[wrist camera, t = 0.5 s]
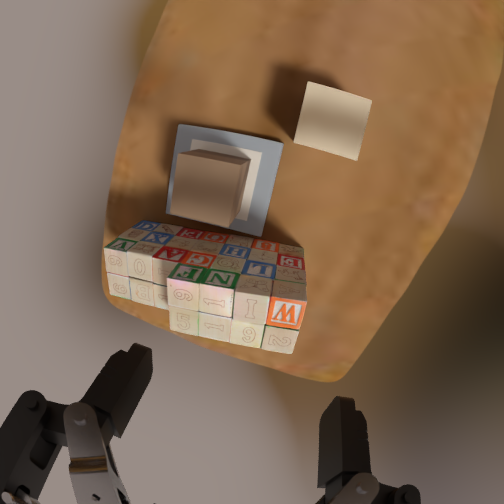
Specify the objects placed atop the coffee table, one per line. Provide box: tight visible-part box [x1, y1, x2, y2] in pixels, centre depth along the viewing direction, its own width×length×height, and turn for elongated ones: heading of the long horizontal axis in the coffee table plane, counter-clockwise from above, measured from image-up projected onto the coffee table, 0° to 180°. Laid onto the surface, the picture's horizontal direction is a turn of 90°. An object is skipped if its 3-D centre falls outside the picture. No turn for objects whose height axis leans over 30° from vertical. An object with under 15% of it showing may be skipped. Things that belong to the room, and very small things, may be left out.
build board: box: [166, 124, 284, 237], centre depth 32 cm, size 11×12×1 cm
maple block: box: [293, 81, 372, 161], centre depth 25 cm, size 6×6×6 cm
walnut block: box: [170, 149, 251, 227], centre depth 28 cm, size 6×6×6 cm
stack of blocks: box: [104, 220, 307, 354], centre depth 31 cm, size 21×6×12 cm, turn 82°
